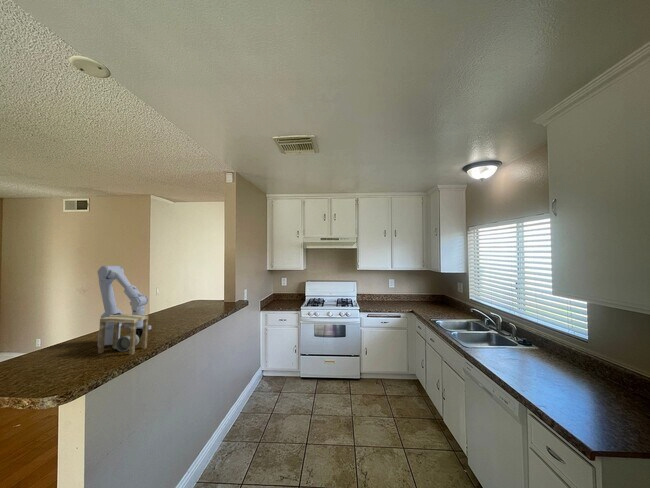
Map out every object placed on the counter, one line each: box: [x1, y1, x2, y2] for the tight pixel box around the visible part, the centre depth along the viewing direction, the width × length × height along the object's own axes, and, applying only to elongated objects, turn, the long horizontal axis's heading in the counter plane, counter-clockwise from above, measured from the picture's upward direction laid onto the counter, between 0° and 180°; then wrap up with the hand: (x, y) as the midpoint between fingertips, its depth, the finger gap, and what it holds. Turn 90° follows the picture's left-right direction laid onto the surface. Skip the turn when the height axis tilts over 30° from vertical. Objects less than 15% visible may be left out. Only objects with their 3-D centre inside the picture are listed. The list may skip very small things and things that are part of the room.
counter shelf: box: [97, 313, 149, 356], centre depth 134 cm, size 10×18×18 cm, turn 88°
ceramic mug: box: [112, 333, 140, 353], centre depth 136 cm, size 11×8×8 cm
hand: (136, 342), depth 143 cm, fingers closed
